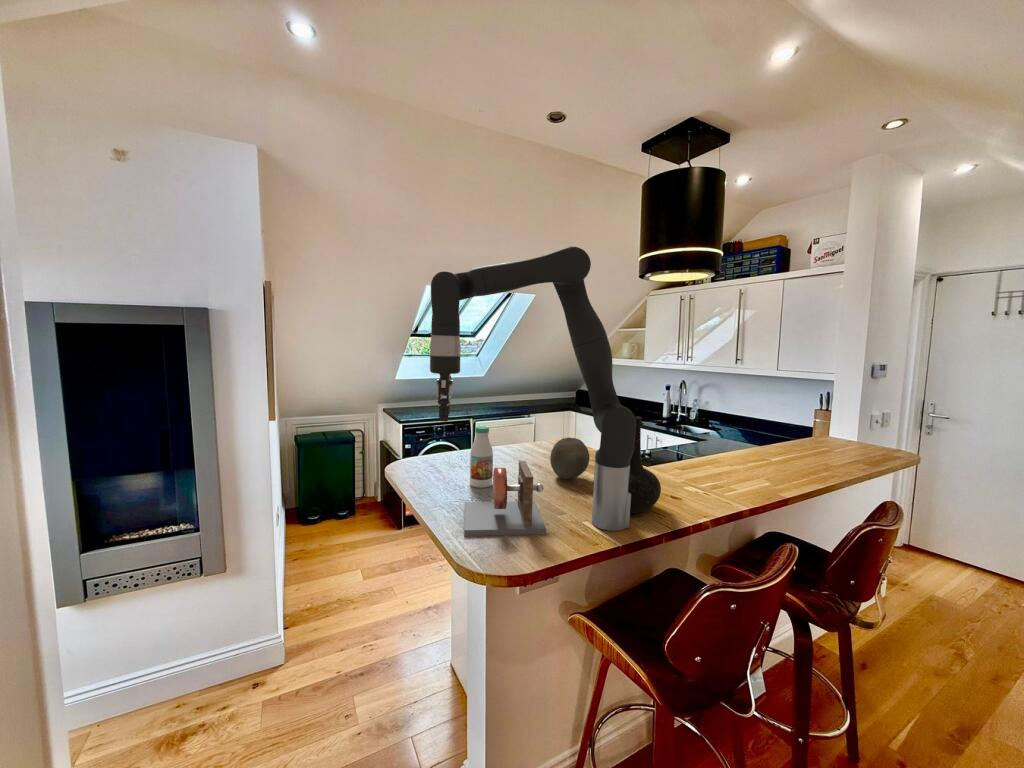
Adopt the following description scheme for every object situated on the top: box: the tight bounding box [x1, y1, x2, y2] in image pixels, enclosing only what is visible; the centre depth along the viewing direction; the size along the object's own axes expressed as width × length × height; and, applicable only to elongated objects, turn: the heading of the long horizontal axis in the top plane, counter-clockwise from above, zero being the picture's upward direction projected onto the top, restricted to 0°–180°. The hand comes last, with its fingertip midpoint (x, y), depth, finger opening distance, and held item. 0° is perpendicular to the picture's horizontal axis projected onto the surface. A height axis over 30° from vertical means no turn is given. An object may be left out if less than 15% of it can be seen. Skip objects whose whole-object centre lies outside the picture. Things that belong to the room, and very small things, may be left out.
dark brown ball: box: [549, 437, 591, 480], centre depth 149 cm, size 14×14×15 cm
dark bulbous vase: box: [628, 415, 662, 514], centre depth 124 cm, size 18×18×28 cm
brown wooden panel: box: [517, 460, 534, 525], centre depth 114 cm, size 3×14×13 cm, turn 6°
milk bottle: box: [469, 425, 494, 489], centre depth 140 cm, size 8×8×20 cm
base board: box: [463, 500, 547, 537], centre depth 114 cm, size 21×18×2 cm
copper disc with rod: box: [492, 467, 545, 509], centre depth 114 cm, size 14×11×11 cm
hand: (444, 417), depth 105 cm, fingers open, 8 cm apart
